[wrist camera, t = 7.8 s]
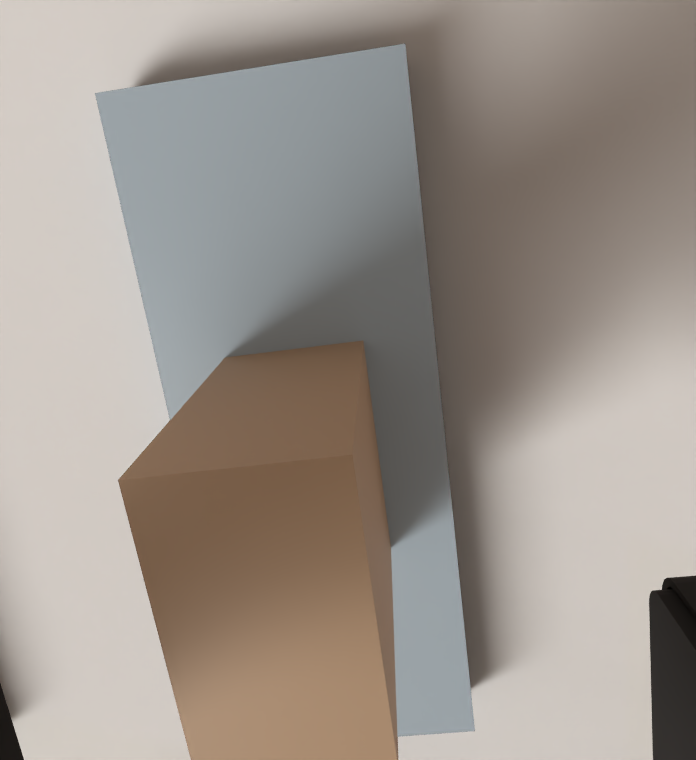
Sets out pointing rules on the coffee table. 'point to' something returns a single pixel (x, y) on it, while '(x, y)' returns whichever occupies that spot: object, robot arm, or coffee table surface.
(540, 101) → the coffee table surface
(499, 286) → the coffee table surface
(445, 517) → the grey slab
